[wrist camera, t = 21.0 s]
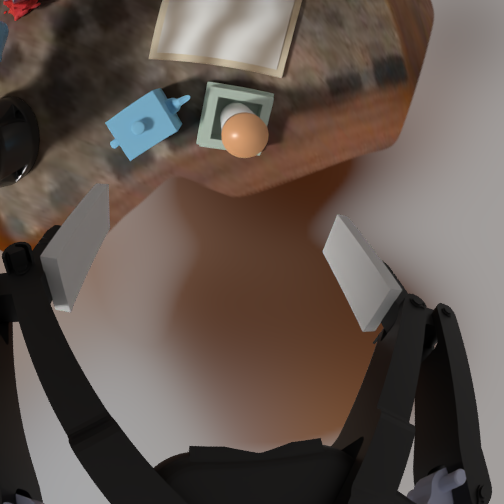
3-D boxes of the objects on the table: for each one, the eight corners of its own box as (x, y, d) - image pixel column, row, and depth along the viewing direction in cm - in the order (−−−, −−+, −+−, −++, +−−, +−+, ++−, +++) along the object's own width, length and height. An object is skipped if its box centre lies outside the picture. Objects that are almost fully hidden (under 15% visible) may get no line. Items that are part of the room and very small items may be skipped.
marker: (215, 125, 36) (216, 152, 25) (223, 97, 34) (228, 108, 22) (245, 132, 37) (261, 162, 26) (253, 104, 35) (274, 120, 23)
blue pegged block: (183, 75, 32) (176, 75, 26) (204, 110, 35) (202, 118, 29) (112, 120, 34) (92, 131, 28) (133, 153, 37) (118, 170, 31)
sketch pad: (149, 59, 30) (148, 58, 29) (172, -27, 22) (171, -29, 21) (280, 77, 34) (281, 78, 33) (302, -6, 26) (304, -7, 25)
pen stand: (196, 142, 38) (194, 149, 35) (207, 81, 33) (207, 82, 30) (258, 151, 40) (262, 159, 37) (272, 93, 35) (278, 95, 32)
